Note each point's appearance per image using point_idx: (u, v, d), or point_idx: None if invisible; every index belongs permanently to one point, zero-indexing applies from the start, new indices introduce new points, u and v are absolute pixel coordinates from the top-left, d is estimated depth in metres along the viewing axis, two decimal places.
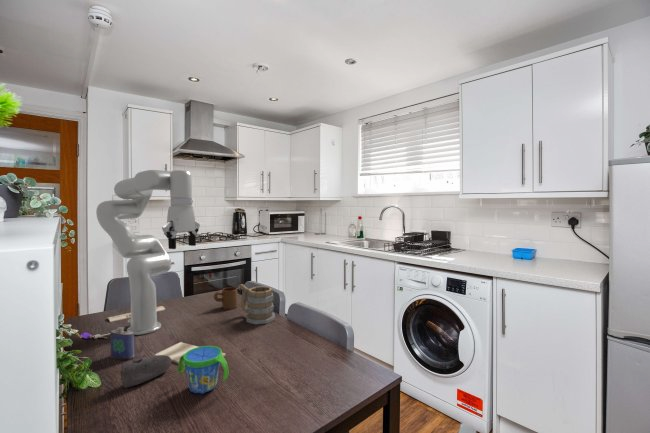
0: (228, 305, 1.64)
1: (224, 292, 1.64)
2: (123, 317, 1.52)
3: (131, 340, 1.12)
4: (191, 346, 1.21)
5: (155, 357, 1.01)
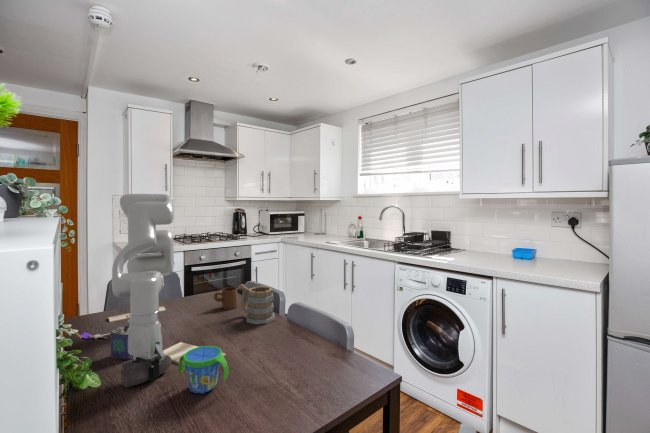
0: (228, 305, 1.64)
1: (224, 292, 1.64)
2: (123, 317, 1.52)
3: None
4: (191, 346, 1.21)
5: None
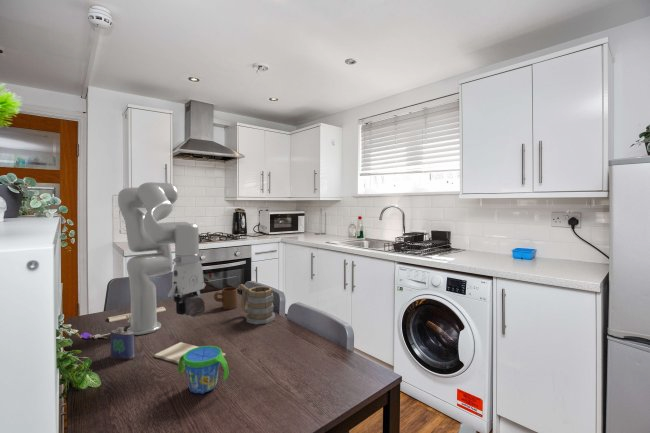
0: (228, 305, 1.64)
1: (224, 292, 1.64)
2: (123, 317, 1.51)
3: (131, 340, 1.12)
4: (191, 346, 1.21)
5: None
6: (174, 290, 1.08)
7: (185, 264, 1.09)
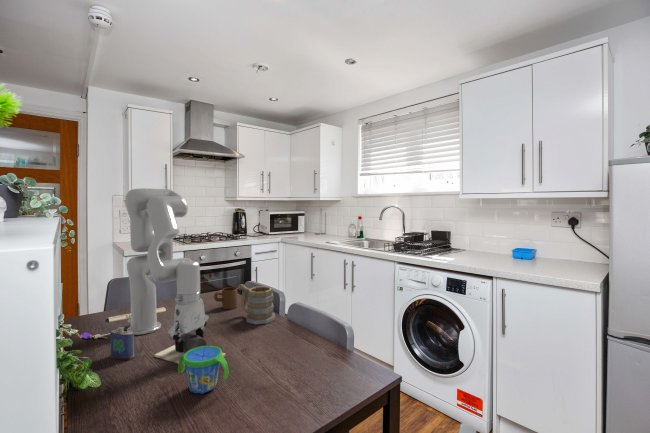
0: (228, 305, 1.64)
1: (224, 292, 1.64)
2: (123, 317, 1.51)
3: (131, 340, 1.12)
4: None
5: None
6: (175, 328, 1.08)
7: (187, 303, 1.10)
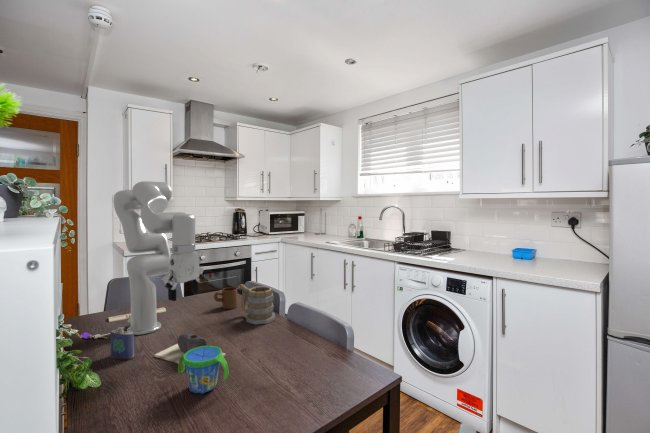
0: (228, 305, 1.64)
1: (224, 292, 1.64)
2: (123, 317, 1.51)
3: (131, 340, 1.12)
4: None
5: None
6: (169, 276, 1.10)
7: (182, 253, 1.12)
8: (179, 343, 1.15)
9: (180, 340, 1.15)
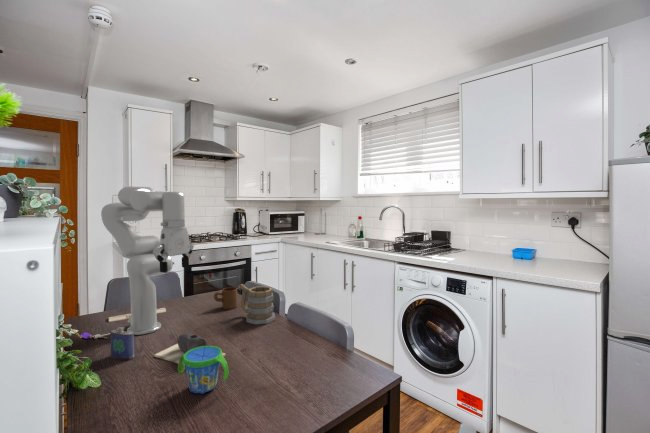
0: (228, 305, 1.64)
1: (224, 292, 1.64)
2: (123, 318, 1.51)
3: (131, 340, 1.12)
4: None
5: None
6: (160, 249, 1.17)
7: (172, 228, 1.20)
8: (179, 343, 1.15)
9: (180, 340, 1.15)
